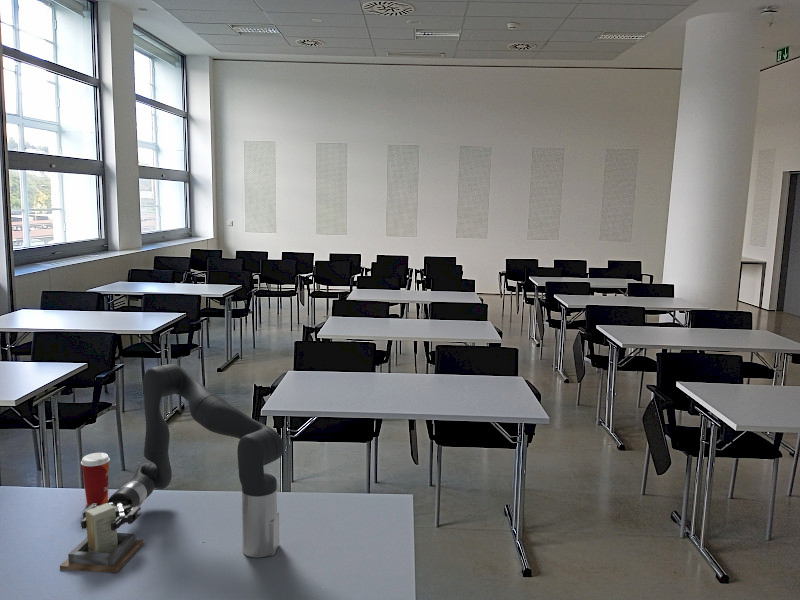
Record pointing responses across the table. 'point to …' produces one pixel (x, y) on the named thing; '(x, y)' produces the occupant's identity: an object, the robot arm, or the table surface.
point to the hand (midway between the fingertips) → (97, 526)
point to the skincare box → (101, 529)
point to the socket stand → (102, 556)
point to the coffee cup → (96, 477)
